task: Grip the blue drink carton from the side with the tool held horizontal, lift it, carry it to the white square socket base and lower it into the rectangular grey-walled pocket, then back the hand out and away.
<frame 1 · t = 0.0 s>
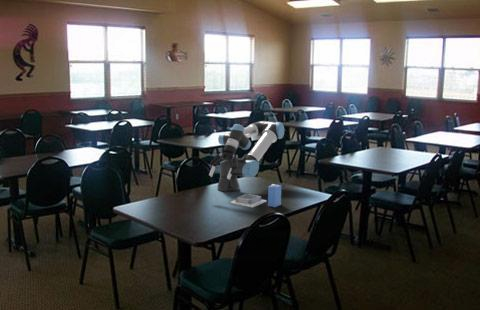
hand: (219, 177, 304), 15 cm above the table, fingers open, 13 cm apart
blue drink carton: (274, 205, 298), on the table
white square socket base: (248, 202, 304), on the table
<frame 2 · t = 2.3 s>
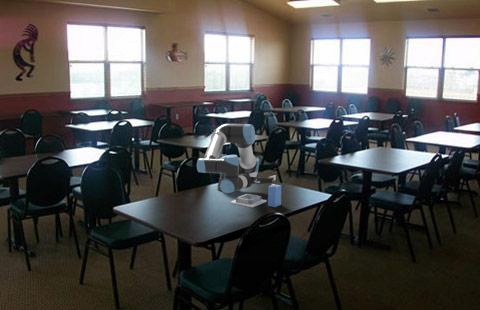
hand: (265, 175, 287), 20 cm above the table, fingers open, 13 cm apart
nothing on the table moved.
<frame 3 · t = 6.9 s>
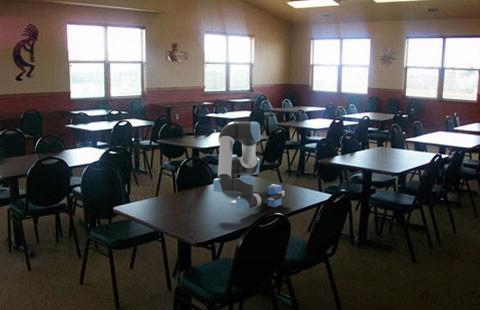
hand: (279, 192, 301), 7 cm above the table, fingers closed on blue drink carton, 5 cm apart
blue drink carton: (274, 205, 298), on the table, touching gripper
when the fingers open (9 cm above the table, at t = 12.1 s): blue drink carton drops 1 cm, resting on white square socket base.
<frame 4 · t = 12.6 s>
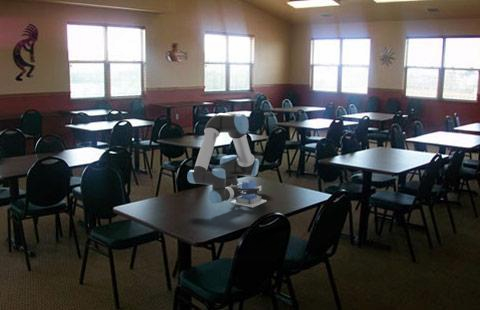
hand: (252, 186, 305), 10 cm above the table, fingers open, 13 cm apart
blue drink carton: (248, 200, 304), point 1 cm above the table, touching white square socket base
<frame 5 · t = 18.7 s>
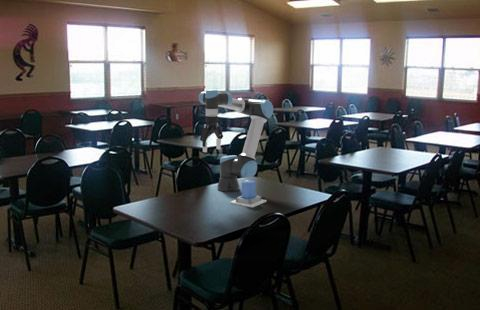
hand: (211, 150, 301), 32 cm above the table, fingers open, 13 cm apart
nothing on the table moved.
at the end: blue drink carton 0.1 cm off-centre on the white square socket base, point 1.0 cm above the white square socket base's base; blue drink carton tilted 0°; the gripper is holding nothing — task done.
